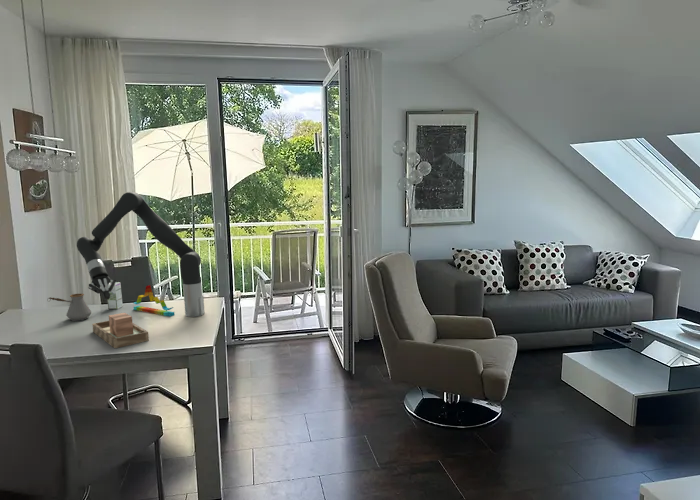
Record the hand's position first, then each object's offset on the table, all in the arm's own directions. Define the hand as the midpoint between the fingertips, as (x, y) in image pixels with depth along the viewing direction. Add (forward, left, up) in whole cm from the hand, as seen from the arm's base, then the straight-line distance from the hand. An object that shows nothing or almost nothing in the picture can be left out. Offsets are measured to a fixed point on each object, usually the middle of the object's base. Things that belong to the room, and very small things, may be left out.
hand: (107, 298), depth 236 cm
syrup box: (+16, -42, -16) cm, 48 cm away
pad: (-12, +15, -15) cm, 25 cm away
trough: (-9, +11, -15) cm, 21 cm away
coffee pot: (+28, -17, -16) cm, 36 cm away
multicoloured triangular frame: (-10, -30, -16) cm, 35 cm away
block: (-12, +15, -13) cm, 23 cm away
